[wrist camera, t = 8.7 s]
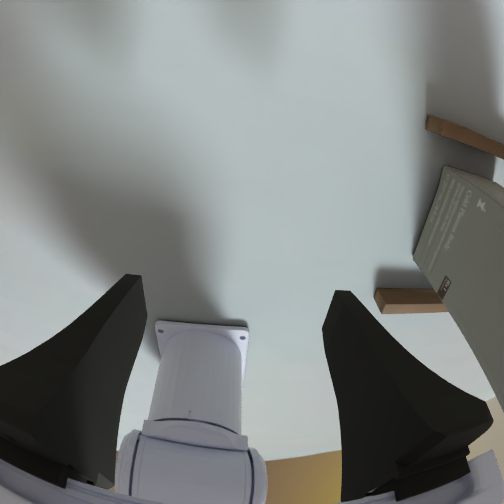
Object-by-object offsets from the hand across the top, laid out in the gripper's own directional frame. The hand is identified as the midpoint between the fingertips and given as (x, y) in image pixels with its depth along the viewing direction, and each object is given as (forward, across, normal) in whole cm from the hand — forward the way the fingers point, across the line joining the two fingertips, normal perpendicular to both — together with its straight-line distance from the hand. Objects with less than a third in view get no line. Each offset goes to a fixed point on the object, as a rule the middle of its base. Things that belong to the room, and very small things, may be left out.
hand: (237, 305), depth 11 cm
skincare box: (+10, -17, -1) cm, 19 cm away
